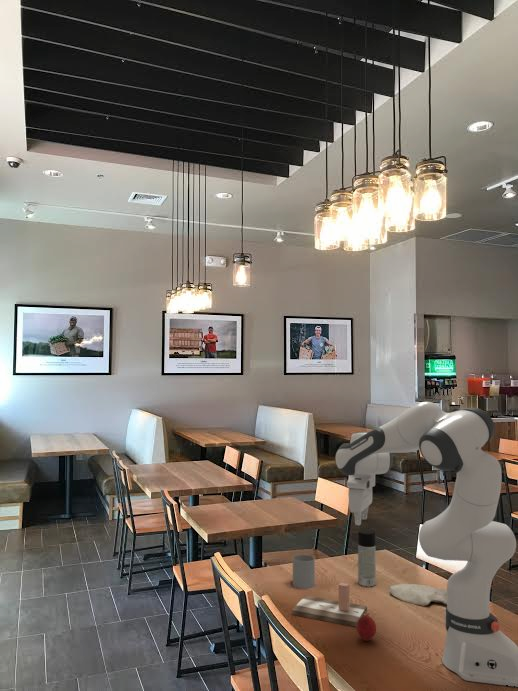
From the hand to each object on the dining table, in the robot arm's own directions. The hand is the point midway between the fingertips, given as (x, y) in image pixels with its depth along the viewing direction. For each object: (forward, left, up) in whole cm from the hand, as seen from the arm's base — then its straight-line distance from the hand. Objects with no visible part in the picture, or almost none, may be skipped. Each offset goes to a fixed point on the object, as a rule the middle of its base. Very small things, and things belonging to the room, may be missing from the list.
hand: (361, 521), depth 184 cm
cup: (+27, -20, -31) cm, 46 cm away
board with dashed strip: (+10, +1, -31) cm, 33 cm away
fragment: (-15, -24, -31) cm, 42 cm away
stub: (+6, +1, -29) cm, 29 cm away
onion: (-6, +16, -31) cm, 36 cm away
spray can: (+5, -31, -31) cm, 44 cm away
